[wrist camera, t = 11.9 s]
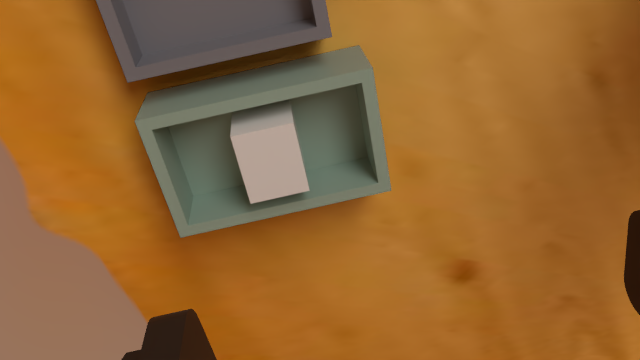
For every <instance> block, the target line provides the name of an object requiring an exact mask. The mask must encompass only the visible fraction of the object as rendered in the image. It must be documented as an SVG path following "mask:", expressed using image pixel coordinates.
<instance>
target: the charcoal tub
mask: <svg viewBox="0 0 640 360" xmlns="http://www.w3.org/2000/svg"><path fill="white" fill-rule="evenodd" d="M96 2H97V5H98V7H99V10H100V12H101V15H102V18H103V20H104V23H105V25H106V28H107V31H108V33H109V36H110V38H111V41H112V44H113V46H114V49H115V51H116V54H117V57H118V59H119V62H120V64H121V67H122V69H123V72H124V75H125V77H126V80H127V82H133V81H137V80H142V79H146V78H151V77H155V76H159V75H164V74H168V73H173V72H177V71H182V70H186V69H191V68H195V67H200V66H204V65H209V64H213V63H217V62H222V61H226V60H231V59H235V58H240V57H244V56H249V55H253V54H258V53H262V52H267V51H271V50H275V49H280V48H284V47H289V46H293V45H298V44H302V43H307V42H311V41H316V40H320V39H325V38H329V37H332V34H331V29H330V23H329V18H328V12H327V7H326V2H325V0H96Z"/></svg>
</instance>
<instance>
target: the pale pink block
mask: <svg viewBox="0 0 640 360" xmlns="http://www.w3.org/2000/svg"><path fill="white" fill-rule="evenodd" d="M230 138H231V141H232V144H233V148H234V151H235V154H236V158H237V161H238V164H239V167H240V171H241V174H242V177H243V181H244V184H245V187H246V190H247V194H248V197H249V200H250V204H252V203H257V202H261V201H266V200H270V199H275V198H279V197H284V196H288V195H292V194H297V193H301V192H306V191H310V190H309V184H308V179H307V173H306V168H305V162H304V157H303V153H302V148H301V144H300V140H299V136H298V131H297V127H296V123H295V119H294V114H293V110H292V106H291V102H290V99H287V100H283V101H278V102H274V103H270V104H265V105H261V106H256V107H252V108H247V109H243V110H238V111H234V112H232V120H231V133H230Z"/></svg>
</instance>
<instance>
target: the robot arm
mask: <svg viewBox="0 0 640 360" xmlns="http://www.w3.org/2000/svg"><path fill="white" fill-rule="evenodd" d="M624 283H625V288H626V291H627V294H628V297H629V299H630V301H631V303H632V305H633V307H634V308H635V310H636V311H637V312H638V314H639V315H640V210H638V211H634V212H633V213H632V214H631V216H630V218H629V223H628V235H627V247H626V258H625V270H624ZM122 360H217V359H216V357H215V355H214V352H213V350H212V348H211V346H210V343H209V341H208V339H207V336H206V334H205V332H204V329H203V327H202V325H201V323H200V320H199V318H198V316H197V314H196V312H195V311H194V310H193V309H188V310H184V311H179V312H175V313H170V314H166V315H161V316H157V317H153V318H151V319H150V320H149V322H148V325H147V329H146V333H145V337H144V341H143V345H142V349H141V350H137V351H133V352H128V353H126V354H125V355H124V357H123V358H122Z"/></svg>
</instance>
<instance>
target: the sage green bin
mask: <svg viewBox="0 0 640 360" xmlns="http://www.w3.org/2000/svg"><path fill="white" fill-rule="evenodd" d="M287 99H290V102H291V106H292V110H293V114H294V119H295V123H296V127H297V131H298V136H299V140H300V144H301V148H302V153H303V157H304V162H305V168H306V173H307V179H308V184H309V190H310V191H306V192H301V193H297V194H292V195H288V196H284V197H279V198H275V199H270V200H266V201H261V202H257V203H252V204H250V200H249V197H248V194H247V190H246V187H245V184H244V181H243V177H242V174H241V171H240V167H239V164H238V161H237V158H236V154H235V151H234V148H233V144H232V141H231V138H230V133H231V120H232V112H234V111H238V110H243V109H247V108H252V107H256V106H261V105H265V104H270V103H274V102H278V101H283V100H287ZM135 123H136V126H137V128H138V131H139V133H140V136H141V139H142V141H143V144H144V146H145V149H146V151H147V154H148V156H149V159H150V161H151V164H152V167H153V169H154V172H155V174H156V177H157V179H158V182H159V184H160V187H161V189H162V192H163V195H164V197H165V200H166V202H167V205H168V207H169V210H170V212H171V215H172V217H173V220H174V222H175V225H176V228H177V230H178V233H179V235H180V238H181V237H186V236H190V235H195V234H199V233H204V232H208V231H213V230H217V229H222V228H226V227H231V226H235V225H240V224H244V223H249V222H253V221H257V220H262V219H266V218H271V217H275V216H280V215H284V214H289V213H293V212H298V211H302V210H307V209H311V208H316V207H320V206H324V205H329V204H333V203H338V202H342V201H347V200H351V199H356V198H360V197H365V196H369V195H374V194H378V193H383V192H387V191H391V185H390V178H389V172H388V165H387V159H386V152H385V145H384V139H383V132H382V126H381V119H380V113H379V106H378V99H377V93H376V86H375V80H374V73H373V67H372V66H371V64H370V63H369V61H368V59H367V58H366V56H365V54H364V53H363V51H362V49H361V48H360V46H359V45H358V46H354V47H350V48H345V49H341V50H336V51H332V52H327V53H323V54H318V55H314V56H309V57H305V58H300V59H296V60H292V61H287V62H283V63H278V64H274V65H269V66H265V67H260V68H256V69H251V70H247V71H242V72H238V73H234V74H229V75H225V76H220V77H216V78H211V79H207V80H202V81H198V82H193V83H189V84H184V85H180V86H176V87H171V88H167V89H162V90H158V91H153V92H149V93H147V95H146V97H145V100H144V102H143V104H142V106H141V108H140V110H139V113H138V115H137V117H136V119H135Z"/></svg>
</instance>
